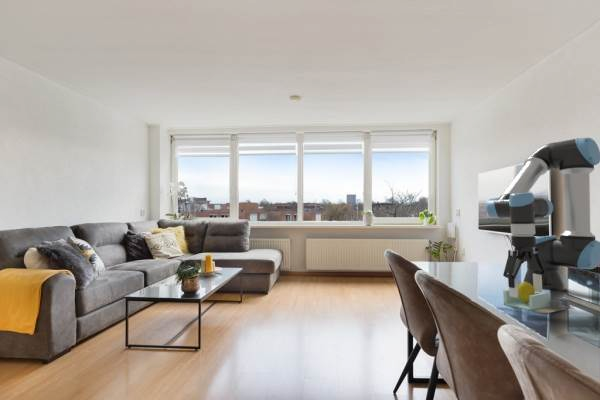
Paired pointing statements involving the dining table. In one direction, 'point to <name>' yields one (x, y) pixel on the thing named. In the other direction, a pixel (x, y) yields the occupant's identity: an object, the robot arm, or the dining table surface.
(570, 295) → the dining table surface
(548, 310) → the board
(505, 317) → the dining table surface
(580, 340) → the dining table surface
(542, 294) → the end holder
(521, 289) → the lemon
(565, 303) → the clip
